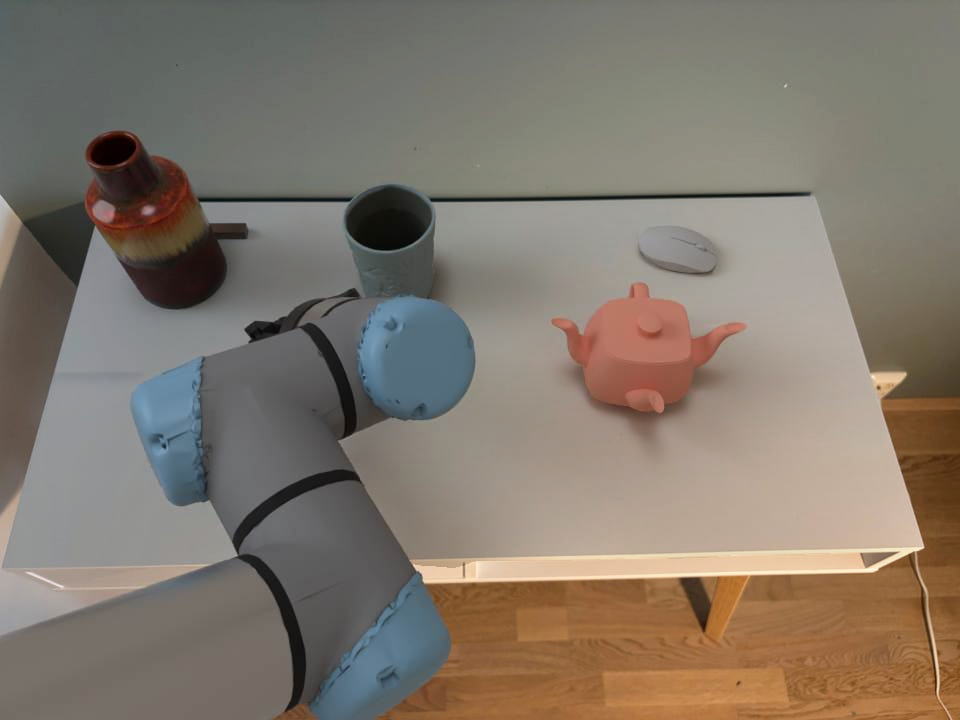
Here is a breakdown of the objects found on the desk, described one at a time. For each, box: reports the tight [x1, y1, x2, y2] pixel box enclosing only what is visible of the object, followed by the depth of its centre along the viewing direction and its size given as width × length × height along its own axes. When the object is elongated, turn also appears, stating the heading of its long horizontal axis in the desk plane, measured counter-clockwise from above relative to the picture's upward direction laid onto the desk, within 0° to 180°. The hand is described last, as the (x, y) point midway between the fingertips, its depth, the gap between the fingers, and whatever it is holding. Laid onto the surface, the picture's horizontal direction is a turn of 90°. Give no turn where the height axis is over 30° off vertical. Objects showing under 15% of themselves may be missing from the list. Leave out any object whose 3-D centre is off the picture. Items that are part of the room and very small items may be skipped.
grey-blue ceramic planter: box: [341, 182, 437, 299], centre depth 85 cm, size 10×10×12 cm
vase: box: [84, 129, 228, 310], centre depth 81 cm, size 11×11×20 cm
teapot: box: [550, 281, 748, 414], centre depth 79 cm, size 14×14×11 cm
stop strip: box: [209, 222, 249, 240], centre depth 93 cm, size 14×2×1 cm, turn 91°
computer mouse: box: [638, 225, 718, 274], centre depth 91 cm, size 6×10×3 cm, turn 77°
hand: (257, 335), depth 76 cm, fingers closed
